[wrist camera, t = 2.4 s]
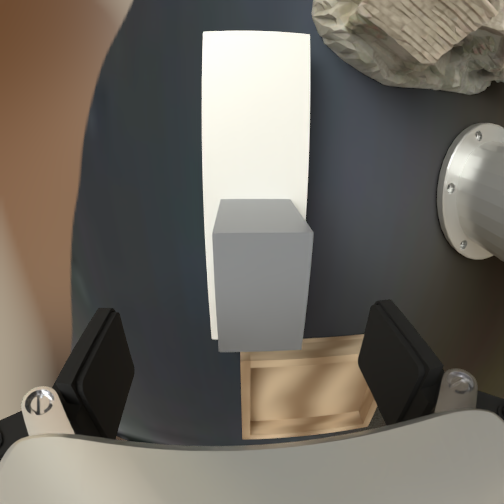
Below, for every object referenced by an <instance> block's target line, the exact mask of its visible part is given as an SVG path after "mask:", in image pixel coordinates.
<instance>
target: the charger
mask: <svg viewBox="0 0 504 504" xmlns="http://www.w3.org/2000/svg"><path fill="white" fill-rule="evenodd" d="M313 234H314V232H313V231H312V230H311V228H310V227H309V225H308V224H307V222H306V221H305V219H304V218H303V217H302V215H301V214H300V212H299V211H298V209H297V208H296V207H295V205H294V204H293V202H292V201H291V200H290V199H221V200H220V204H219V208H218V212H217V216H216V220H215V224H214V228H213V232H212V241H213V263H214V283H215V300H216V316H217V331H218V345H219V352H261V351H288V350H301V349H302V341H303V333H304V325H305V316H306V308H307V299H308V289H309V280H310V269H311V258H312V247H313Z"/></svg>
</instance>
